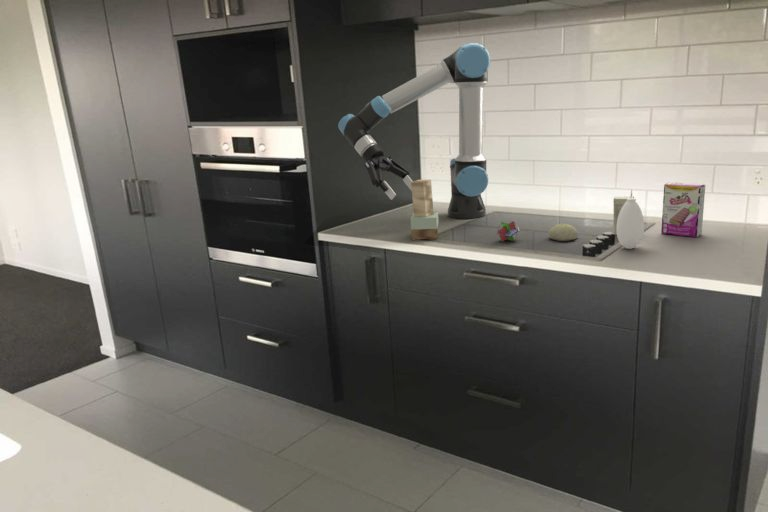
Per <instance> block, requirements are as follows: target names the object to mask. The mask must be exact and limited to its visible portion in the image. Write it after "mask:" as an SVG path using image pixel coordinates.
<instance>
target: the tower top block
mask: <svg viewBox="0 0 768 512" xmlns="http://www.w3.org/2000/svg"><path fill="white" fill-rule="evenodd" d="M433 213H434V214H431V215H429V216H426V217H423V216H414V212H413V213H412V214H411V216H410V219H409V221H410V230H414V229H437V227H438V228H439V221H440V220H439V211H433Z"/></svg>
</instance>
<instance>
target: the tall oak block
mask: <svg viewBox="0 0 768 512" xmlns="http://www.w3.org/2000/svg"><path fill="white" fill-rule="evenodd" d="M411 187H412V191H411V196H412V197H411V199H412V210H413V213H414V216H423V217H426V216H429V215H431V214H434V213H433V212H434V201H433V189H432V187H433V186H432V180H431V179H417V180H413V182H411Z"/></svg>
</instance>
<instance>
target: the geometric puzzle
mask: <svg viewBox="0 0 768 512" xmlns="http://www.w3.org/2000/svg"><path fill="white" fill-rule="evenodd" d="M500 226H502V228H500ZM497 229H498V230H497V231H496V234H498V235H499V236H498V237H499V238H500V241H501V243H503V242H506V240H507V241H508V240H509V242H515V241H516V240H515V239H514V238H515V237H513V236H514V235H516V236H517V235H518V232H520V231H521V230H520V226H519V225H518V224H517V223H516V222H515V221H513V220H511V221H508V223H506V222H504V221H500V225H499V226H498V228H497Z"/></svg>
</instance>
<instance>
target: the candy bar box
mask: <svg viewBox="0 0 768 512" xmlns="http://www.w3.org/2000/svg"><path fill="white" fill-rule="evenodd" d="M705 194H706V184H704V183H703V184H702V183H690V182H689V183H686V182H674V181H669V182H667V183H665V184H664V185H663V200H662V218H661V231H660V232H661V234H663V235H672V236H681V237H689V238H698V237H700V236H702V232H703V219H704V210H705V209H704V208H705V207H704V205H705Z"/></svg>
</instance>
